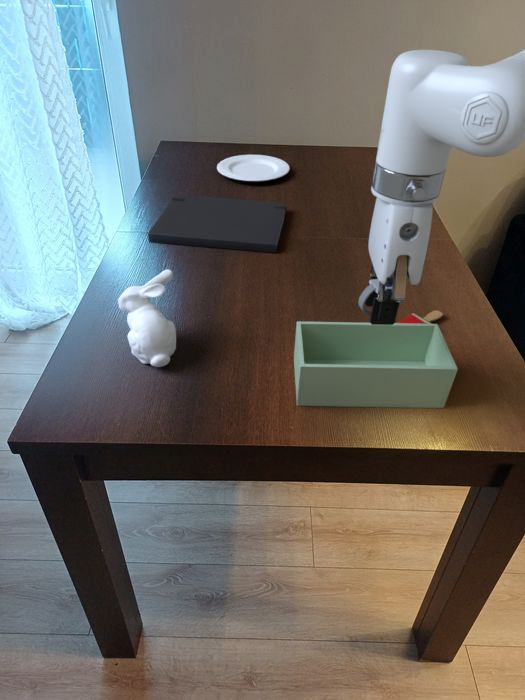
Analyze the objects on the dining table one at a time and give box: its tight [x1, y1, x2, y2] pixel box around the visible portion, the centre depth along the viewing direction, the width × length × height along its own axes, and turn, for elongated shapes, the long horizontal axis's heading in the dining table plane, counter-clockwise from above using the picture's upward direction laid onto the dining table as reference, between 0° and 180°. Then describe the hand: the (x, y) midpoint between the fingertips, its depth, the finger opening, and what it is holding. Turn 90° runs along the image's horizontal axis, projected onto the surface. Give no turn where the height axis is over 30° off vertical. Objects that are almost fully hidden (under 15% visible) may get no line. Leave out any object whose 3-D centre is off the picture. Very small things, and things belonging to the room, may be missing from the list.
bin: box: [293, 320, 458, 409], centre depth 72 cm, size 21×10×8 cm, turn 90°
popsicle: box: [397, 309, 444, 324], centre depth 85 cm, size 4×2×15 cm
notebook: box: [147, 194, 287, 254], centre depth 114 cm, size 22×2×28 cm
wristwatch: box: [357, 279, 405, 317], centre depth 65 cm, size 6×3×5 cm, turn 106°
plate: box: [216, 154, 291, 184], centre depth 141 cm, size 21×21×2 cm
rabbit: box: [117, 269, 177, 368], centre depth 76 cm, size 12×9×12 cm
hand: (379, 313), depth 67 cm, fingers closed on wristwatch, 3 cm apart
